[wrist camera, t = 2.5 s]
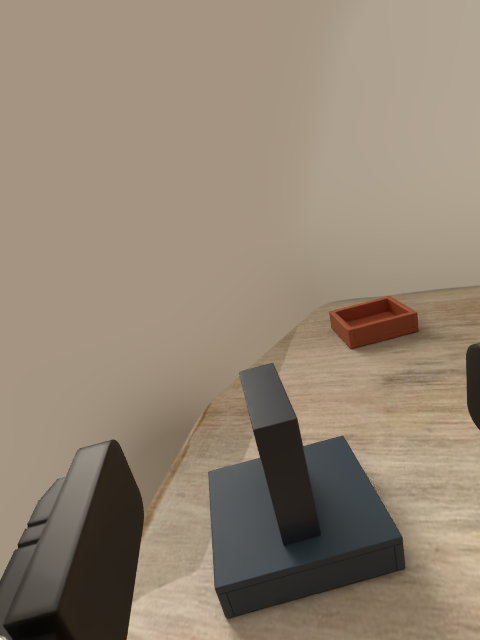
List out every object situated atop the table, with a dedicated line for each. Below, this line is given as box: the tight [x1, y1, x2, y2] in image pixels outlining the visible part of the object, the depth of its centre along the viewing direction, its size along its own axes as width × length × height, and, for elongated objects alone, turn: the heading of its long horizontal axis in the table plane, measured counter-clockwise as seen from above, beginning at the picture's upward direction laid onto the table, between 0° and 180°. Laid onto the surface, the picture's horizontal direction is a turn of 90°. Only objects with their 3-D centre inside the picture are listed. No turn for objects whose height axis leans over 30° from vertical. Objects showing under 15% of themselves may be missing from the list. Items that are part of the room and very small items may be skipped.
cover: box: [208, 363, 405, 618], centre depth 23 cm, size 10×9×10 cm
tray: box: [329, 296, 418, 349], centre depth 47 cm, size 8×7×2 cm
